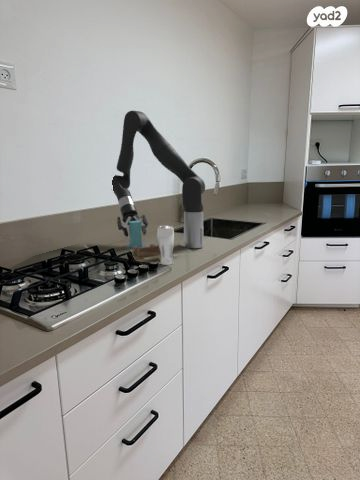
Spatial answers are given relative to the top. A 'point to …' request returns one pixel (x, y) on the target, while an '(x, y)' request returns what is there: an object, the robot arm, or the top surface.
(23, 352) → the top surface
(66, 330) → the top surface
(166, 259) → the beer glass
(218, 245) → the top surface
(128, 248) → the pad
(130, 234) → the teal block
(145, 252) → the walnut bracket
